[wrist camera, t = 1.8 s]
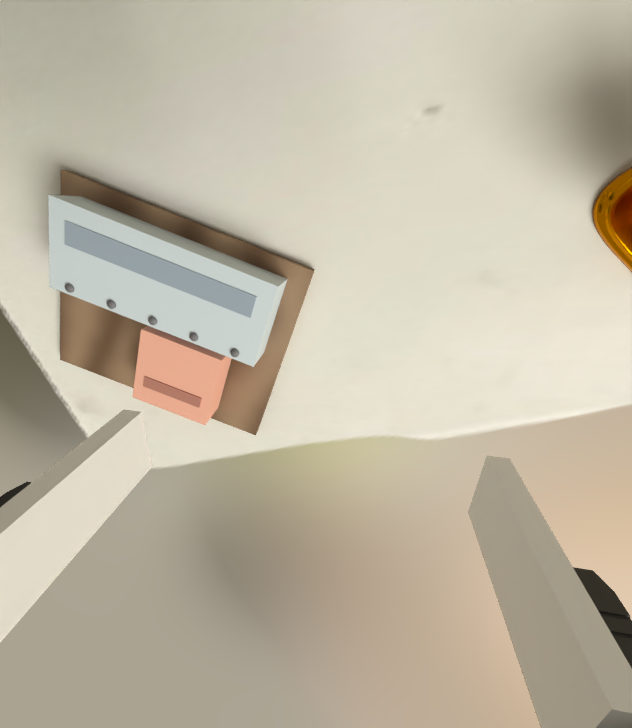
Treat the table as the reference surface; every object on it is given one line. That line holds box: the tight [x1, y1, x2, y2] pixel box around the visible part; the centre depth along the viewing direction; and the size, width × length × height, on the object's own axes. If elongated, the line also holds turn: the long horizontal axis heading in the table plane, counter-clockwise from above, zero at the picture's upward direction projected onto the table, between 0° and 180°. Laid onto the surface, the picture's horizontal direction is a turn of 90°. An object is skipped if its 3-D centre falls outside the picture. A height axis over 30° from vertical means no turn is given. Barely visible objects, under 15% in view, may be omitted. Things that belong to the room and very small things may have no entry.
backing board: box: [60, 170, 314, 435], centre depth 34 cm, size 24×20×1 cm
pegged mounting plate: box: [48, 195, 287, 367], centre depth 30 cm, size 20×8×4 cm, turn 70°
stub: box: [133, 326, 232, 425], centre depth 34 cm, size 8×8×4 cm
